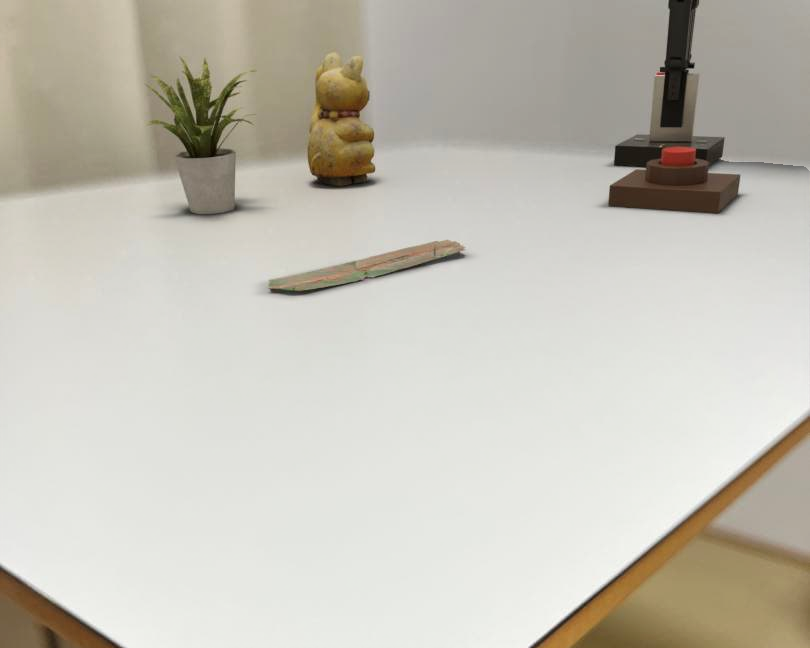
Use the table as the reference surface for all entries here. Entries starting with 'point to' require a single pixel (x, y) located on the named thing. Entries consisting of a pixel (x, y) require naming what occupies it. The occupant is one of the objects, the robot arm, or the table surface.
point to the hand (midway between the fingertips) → (671, 125)
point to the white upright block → (688, 112)
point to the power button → (678, 156)
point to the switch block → (675, 188)
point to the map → (368, 266)
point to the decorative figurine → (340, 124)
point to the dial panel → (643, 151)
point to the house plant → (203, 142)
